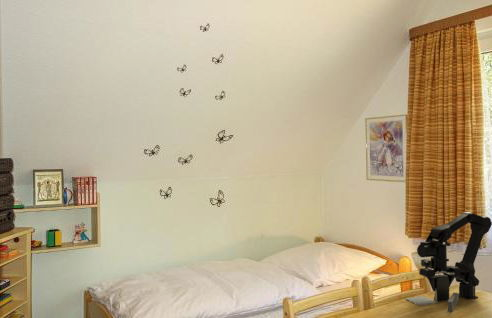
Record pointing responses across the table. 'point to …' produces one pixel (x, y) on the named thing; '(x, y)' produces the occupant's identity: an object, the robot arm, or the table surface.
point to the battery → (442, 288)
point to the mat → (421, 300)
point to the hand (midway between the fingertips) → (440, 290)
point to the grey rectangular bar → (452, 301)
